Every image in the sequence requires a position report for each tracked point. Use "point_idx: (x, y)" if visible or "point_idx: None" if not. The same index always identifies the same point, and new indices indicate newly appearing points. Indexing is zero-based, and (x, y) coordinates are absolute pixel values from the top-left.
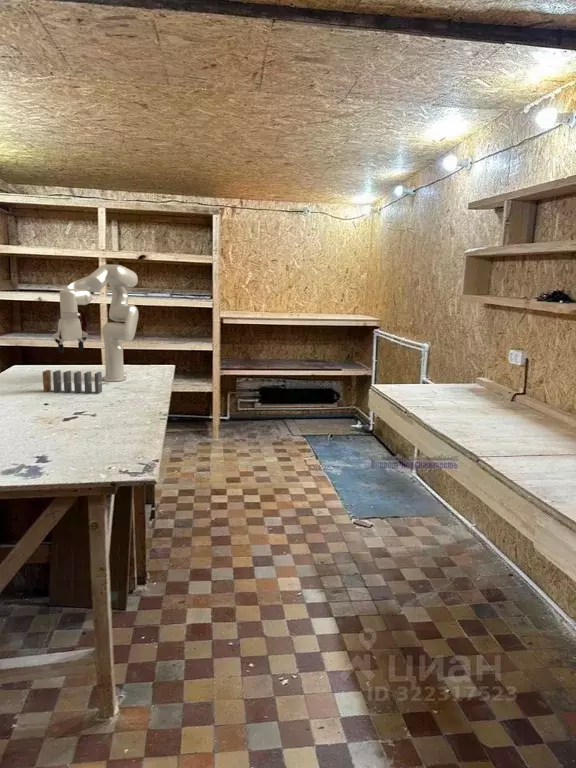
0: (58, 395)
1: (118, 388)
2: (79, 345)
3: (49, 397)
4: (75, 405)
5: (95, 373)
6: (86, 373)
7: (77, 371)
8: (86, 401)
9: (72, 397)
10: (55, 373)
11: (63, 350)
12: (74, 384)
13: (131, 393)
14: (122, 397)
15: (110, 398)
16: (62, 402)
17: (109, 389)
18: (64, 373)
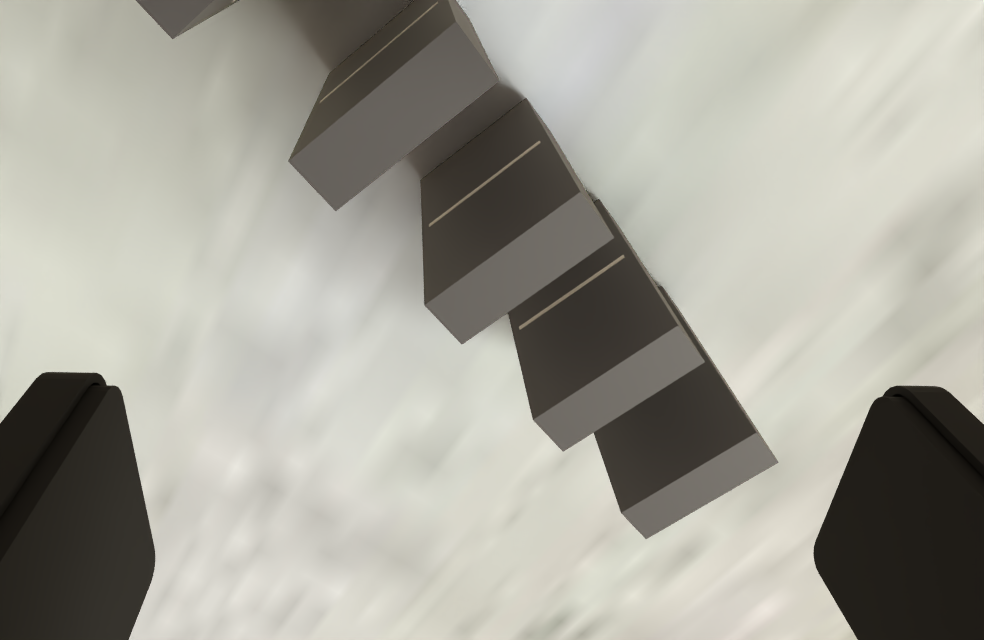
0: (213, 148)
1: (921, 262)
2: (972, 612)
3: (79, 177)
4: (196, 581)
5: (642, 506)
6: (555, 441)
7: (554, 221)
8: (337, 525)
9: (306, 333)
10: (166, 20)
11: (124, 631)
12: (424, 225)
13: (804, 500)
14: (644, 565)
15: (553, 544)
16: (135, 448)
17: (826, 245)
18: (307, 170)
